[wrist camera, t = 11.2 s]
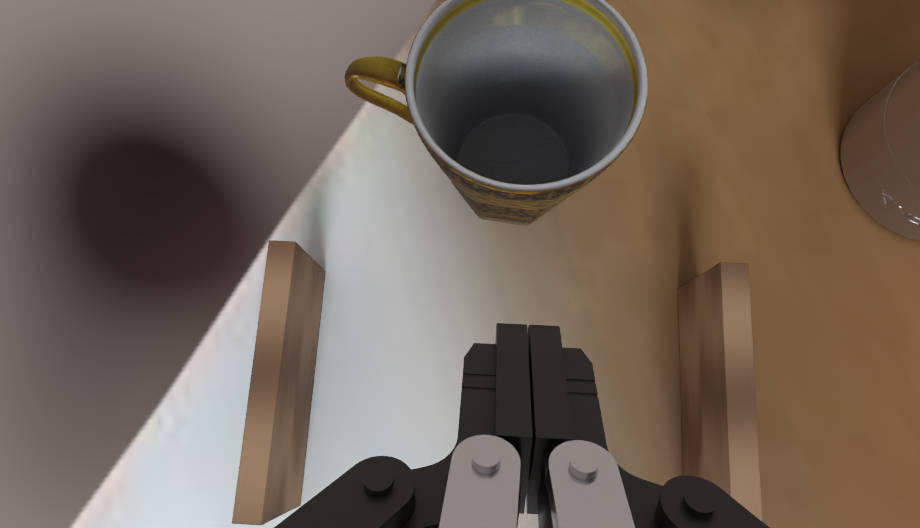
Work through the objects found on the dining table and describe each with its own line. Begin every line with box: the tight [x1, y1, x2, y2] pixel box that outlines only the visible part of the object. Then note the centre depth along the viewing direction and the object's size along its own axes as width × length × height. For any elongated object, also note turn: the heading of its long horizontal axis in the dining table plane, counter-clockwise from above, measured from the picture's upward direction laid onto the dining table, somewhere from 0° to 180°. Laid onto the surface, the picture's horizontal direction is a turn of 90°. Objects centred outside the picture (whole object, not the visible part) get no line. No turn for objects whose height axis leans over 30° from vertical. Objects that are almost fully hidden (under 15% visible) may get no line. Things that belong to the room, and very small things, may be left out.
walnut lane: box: [232, 241, 762, 525], centre depth 30 cm, size 12×21×6 cm, turn 87°
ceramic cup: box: [345, 0, 648, 225], centre depth 31 cm, size 13×10×10 cm
